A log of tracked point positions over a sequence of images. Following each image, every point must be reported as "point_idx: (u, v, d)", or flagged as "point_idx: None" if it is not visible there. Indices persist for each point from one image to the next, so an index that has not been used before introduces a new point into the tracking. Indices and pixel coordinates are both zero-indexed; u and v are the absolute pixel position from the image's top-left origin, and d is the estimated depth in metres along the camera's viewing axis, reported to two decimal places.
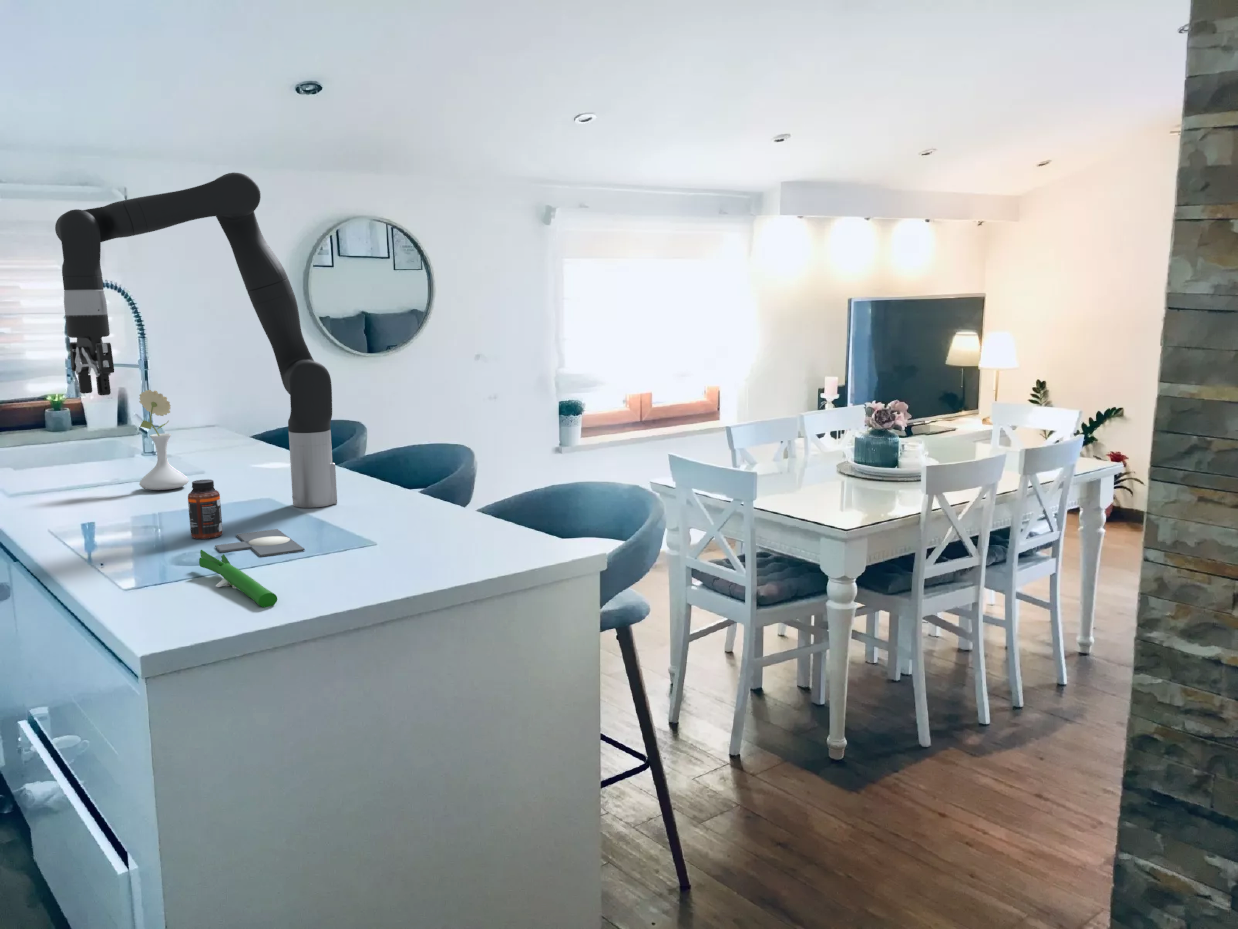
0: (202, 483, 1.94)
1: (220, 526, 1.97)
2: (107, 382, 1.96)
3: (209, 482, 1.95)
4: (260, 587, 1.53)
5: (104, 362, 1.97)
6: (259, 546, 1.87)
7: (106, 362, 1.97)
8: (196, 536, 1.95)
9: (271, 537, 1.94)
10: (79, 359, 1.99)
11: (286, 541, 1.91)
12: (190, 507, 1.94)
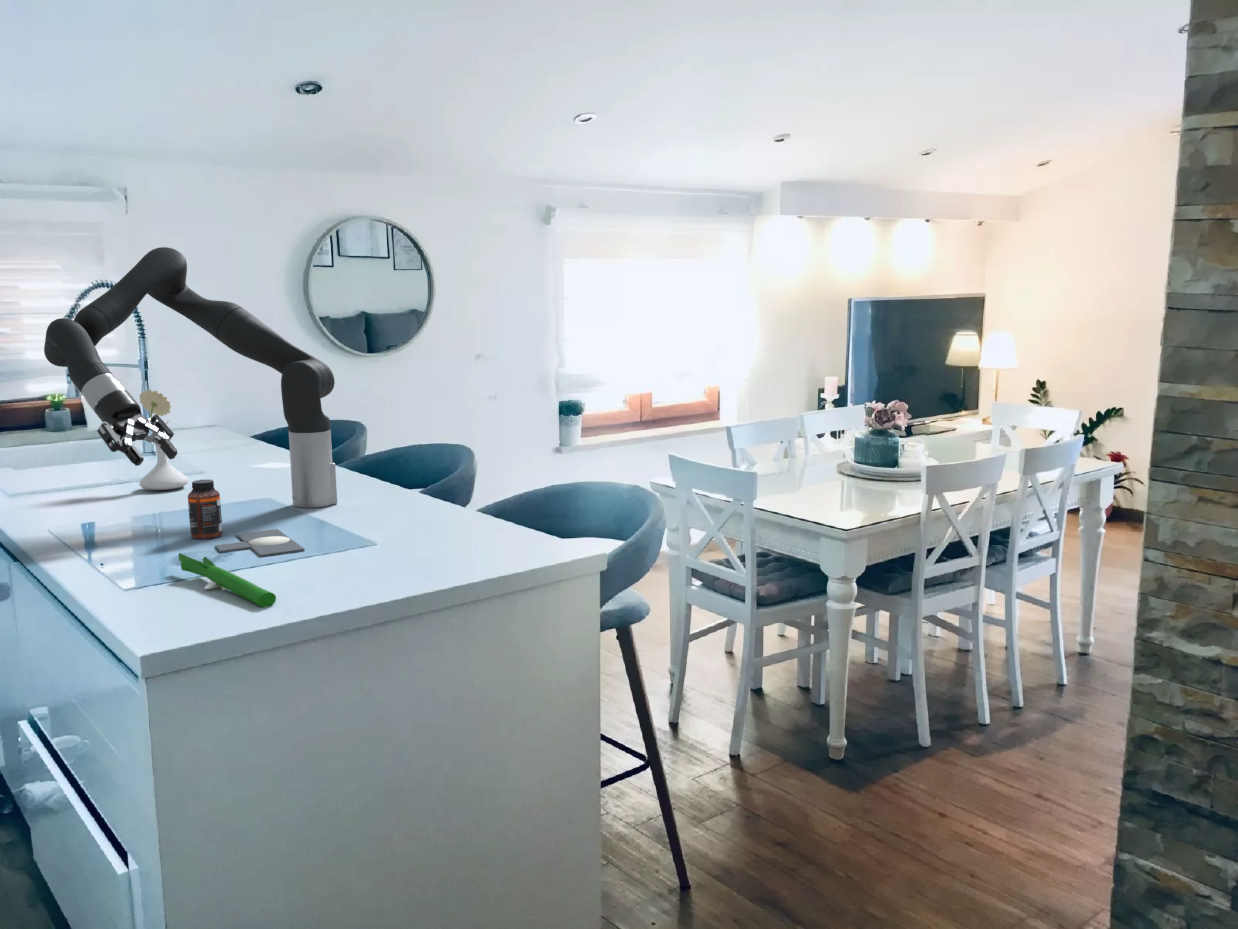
0: (202, 483, 1.94)
1: (220, 526, 1.97)
2: None
3: (209, 482, 1.95)
4: (257, 587, 1.53)
5: None
6: (259, 546, 1.87)
7: None
8: (196, 536, 1.95)
9: (271, 537, 1.94)
10: None
11: (286, 541, 1.91)
12: (190, 507, 1.94)
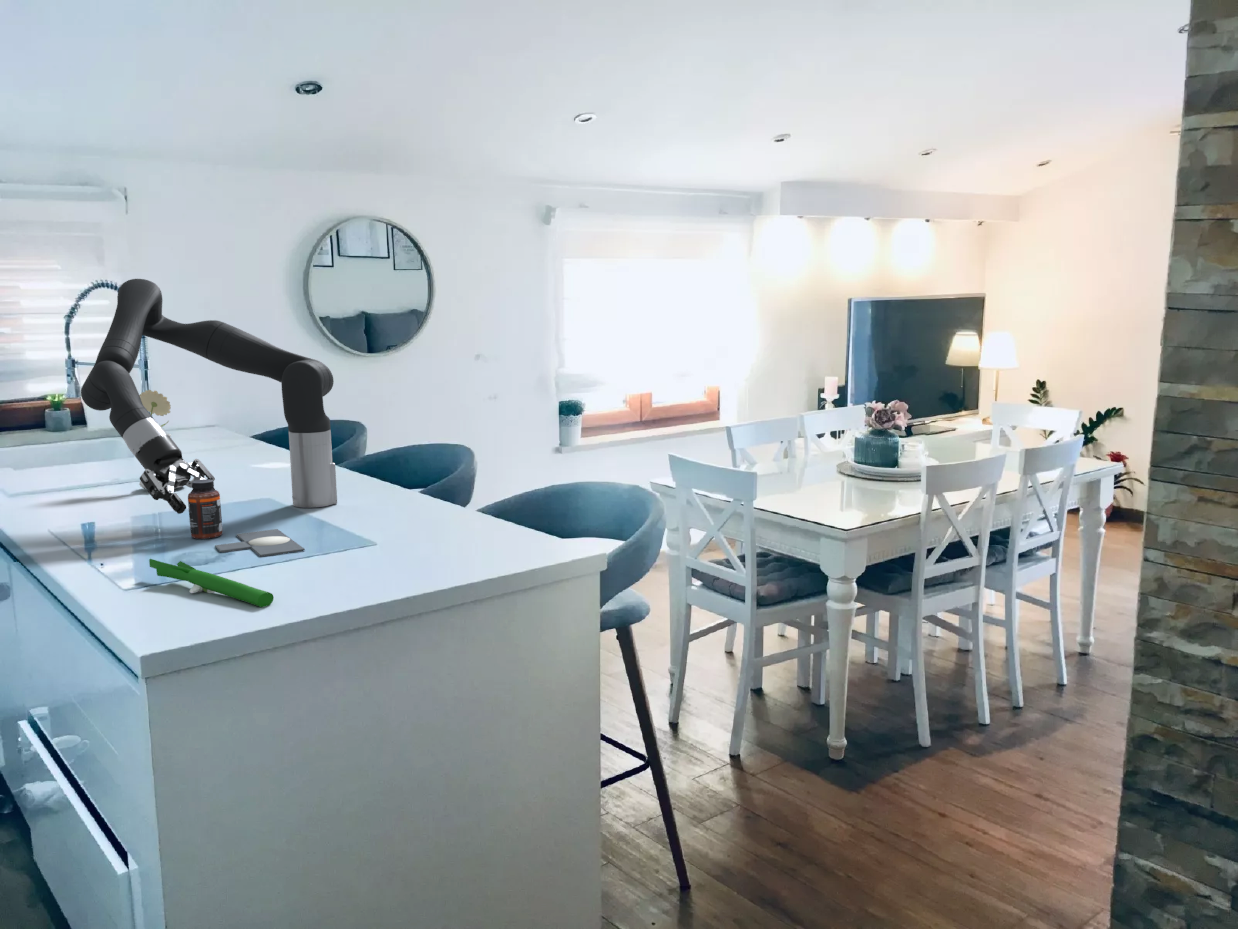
0: (202, 483, 1.94)
1: (220, 526, 1.97)
2: None
3: (209, 482, 1.95)
4: (252, 588, 1.53)
5: None
6: (259, 546, 1.87)
7: None
8: (196, 536, 1.95)
9: (271, 537, 1.94)
10: None
11: (286, 541, 1.91)
12: (190, 507, 1.94)
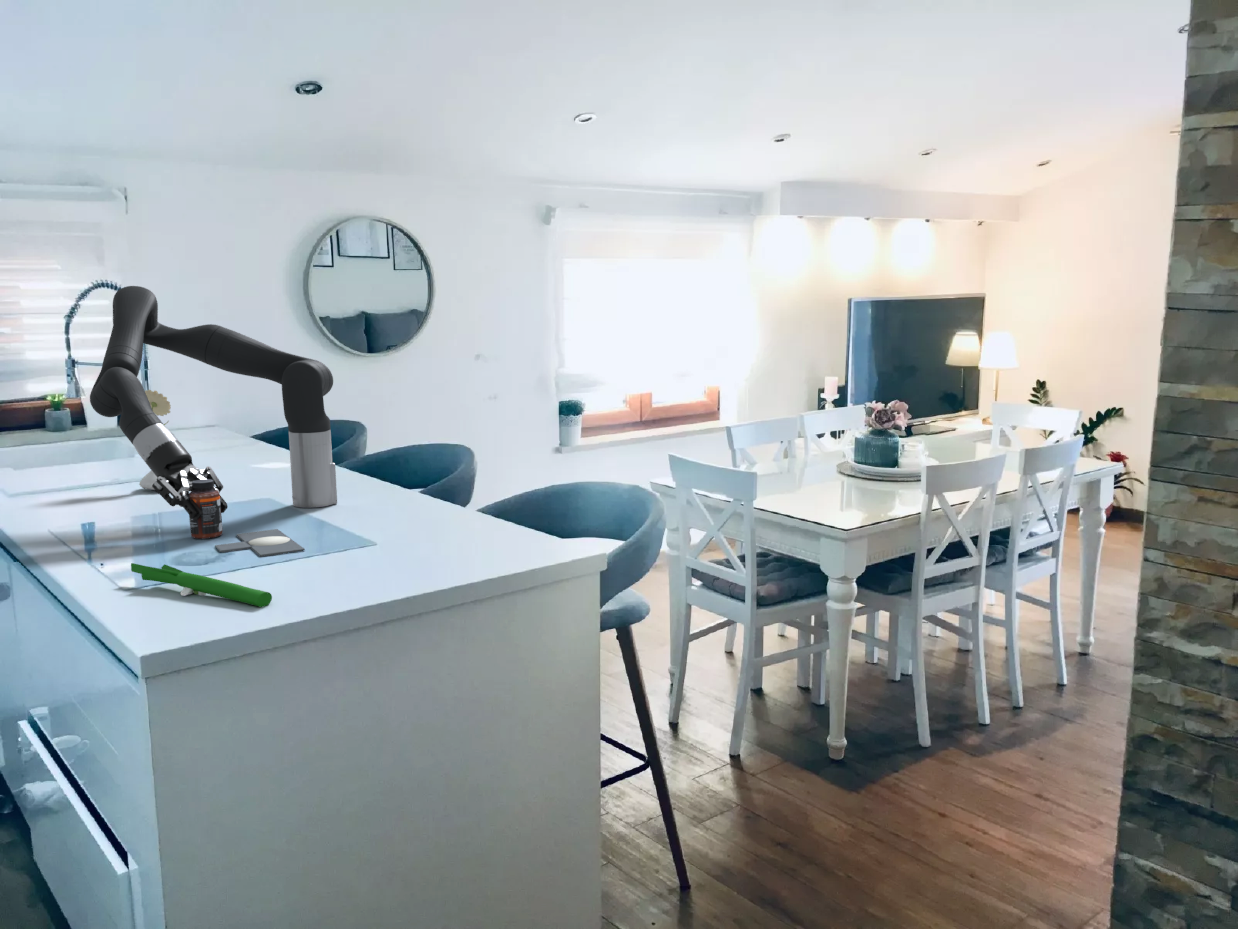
0: (202, 483, 1.94)
1: (220, 526, 1.97)
2: None
3: (209, 482, 1.95)
4: (249, 588, 1.53)
5: None
6: (259, 546, 1.87)
7: None
8: (196, 536, 1.95)
9: (271, 537, 1.94)
10: None
11: (286, 541, 1.91)
12: None
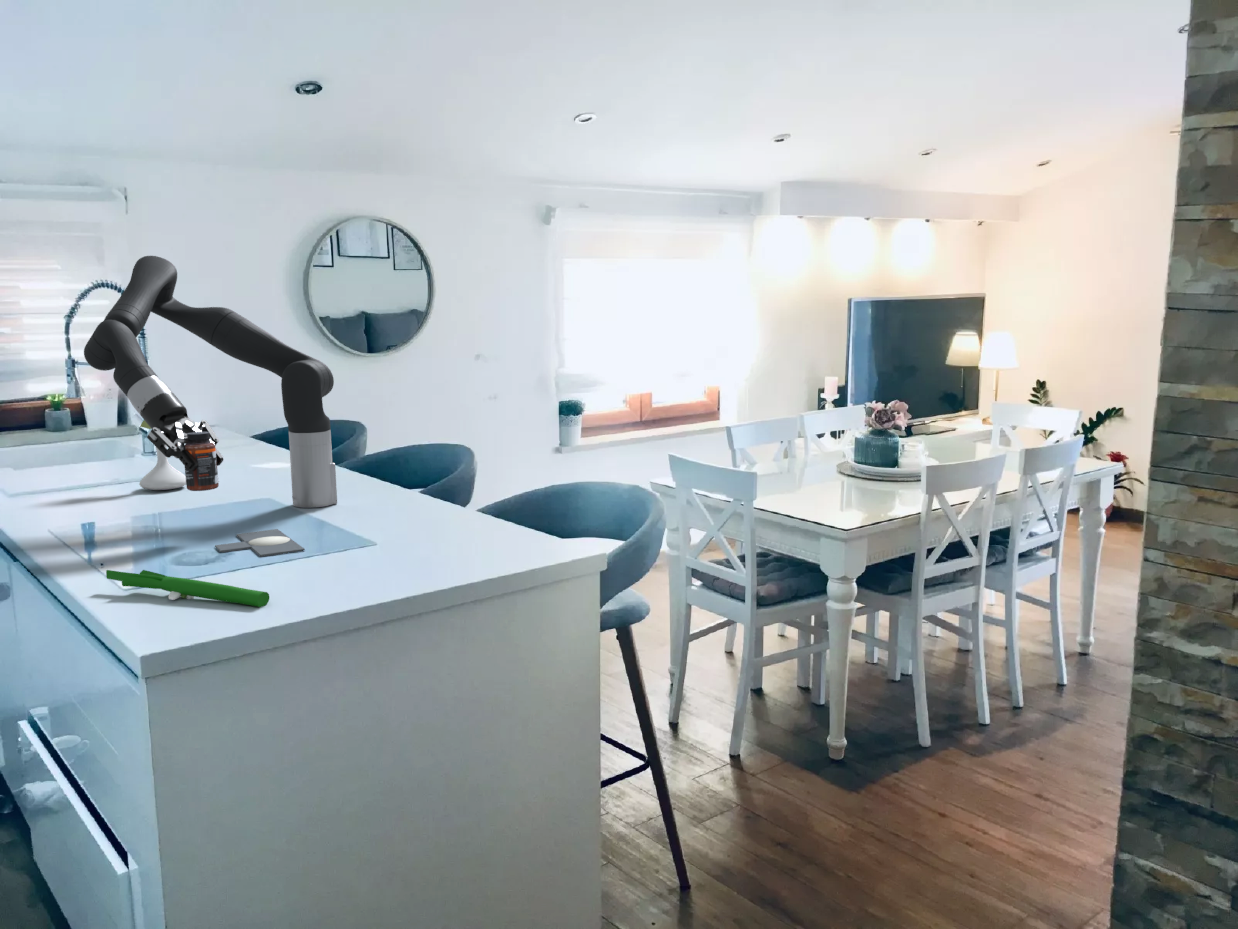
0: (197, 434, 1.92)
1: (216, 478, 1.95)
2: None
3: (204, 433, 1.93)
4: (246, 589, 1.52)
5: None
6: (259, 546, 1.87)
7: None
8: (192, 488, 1.93)
9: (271, 537, 1.94)
10: None
11: (286, 541, 1.91)
12: None
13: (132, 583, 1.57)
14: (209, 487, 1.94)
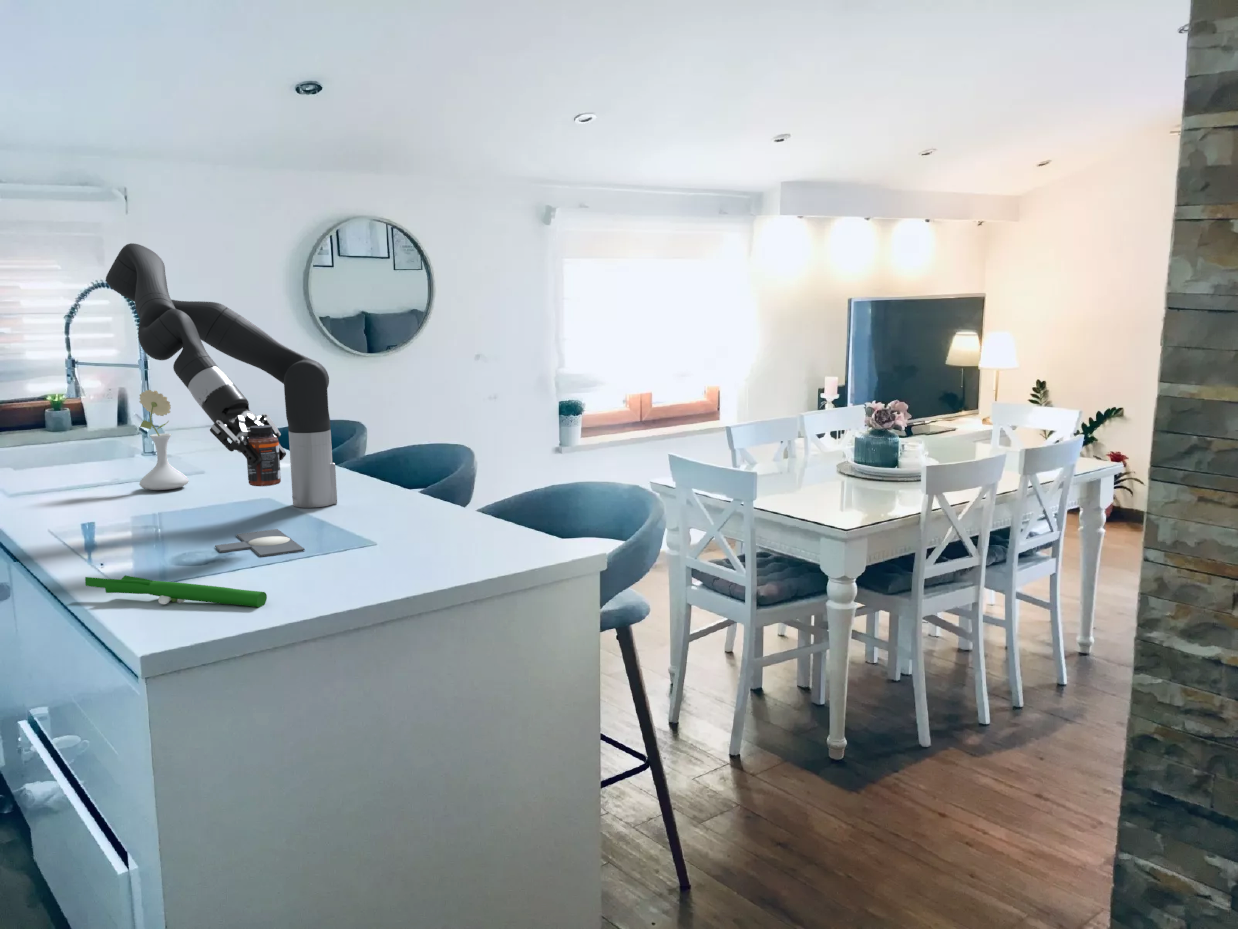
0: (261, 428, 1.86)
1: (279, 473, 1.89)
2: None
3: (268, 427, 1.87)
4: (242, 590, 1.52)
5: None
6: (259, 546, 1.87)
7: None
8: (254, 483, 1.87)
9: (271, 537, 1.94)
10: None
11: (286, 541, 1.91)
12: None
13: (117, 589, 1.54)
14: (272, 482, 1.88)
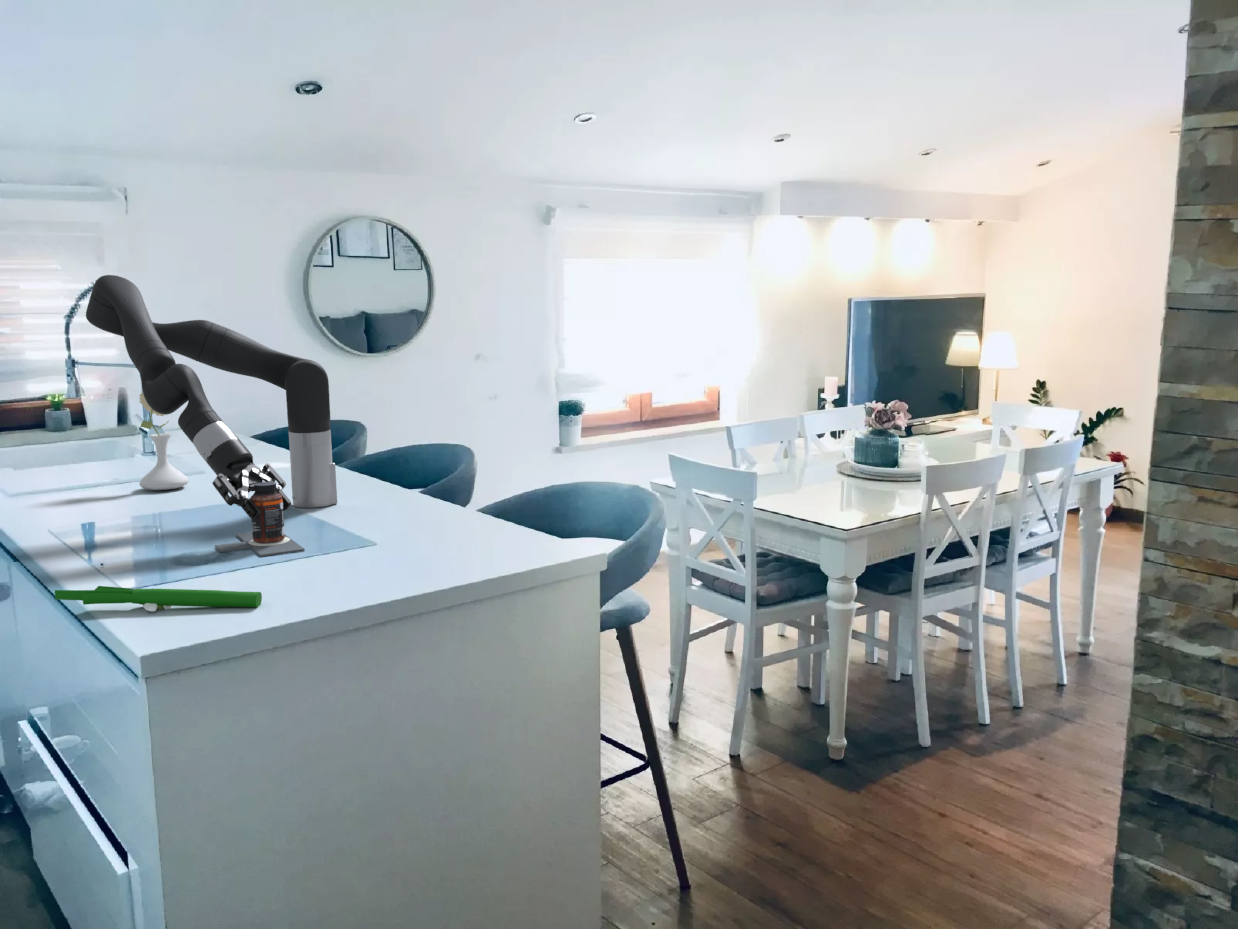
0: (265, 486, 1.88)
1: (283, 530, 1.91)
2: None
3: (272, 485, 1.89)
4: (237, 591, 1.51)
5: None
6: (259, 546, 1.87)
7: None
8: (259, 540, 1.89)
9: None
10: None
11: (286, 541, 1.91)
12: None
13: (95, 600, 1.48)
14: (276, 539, 1.90)
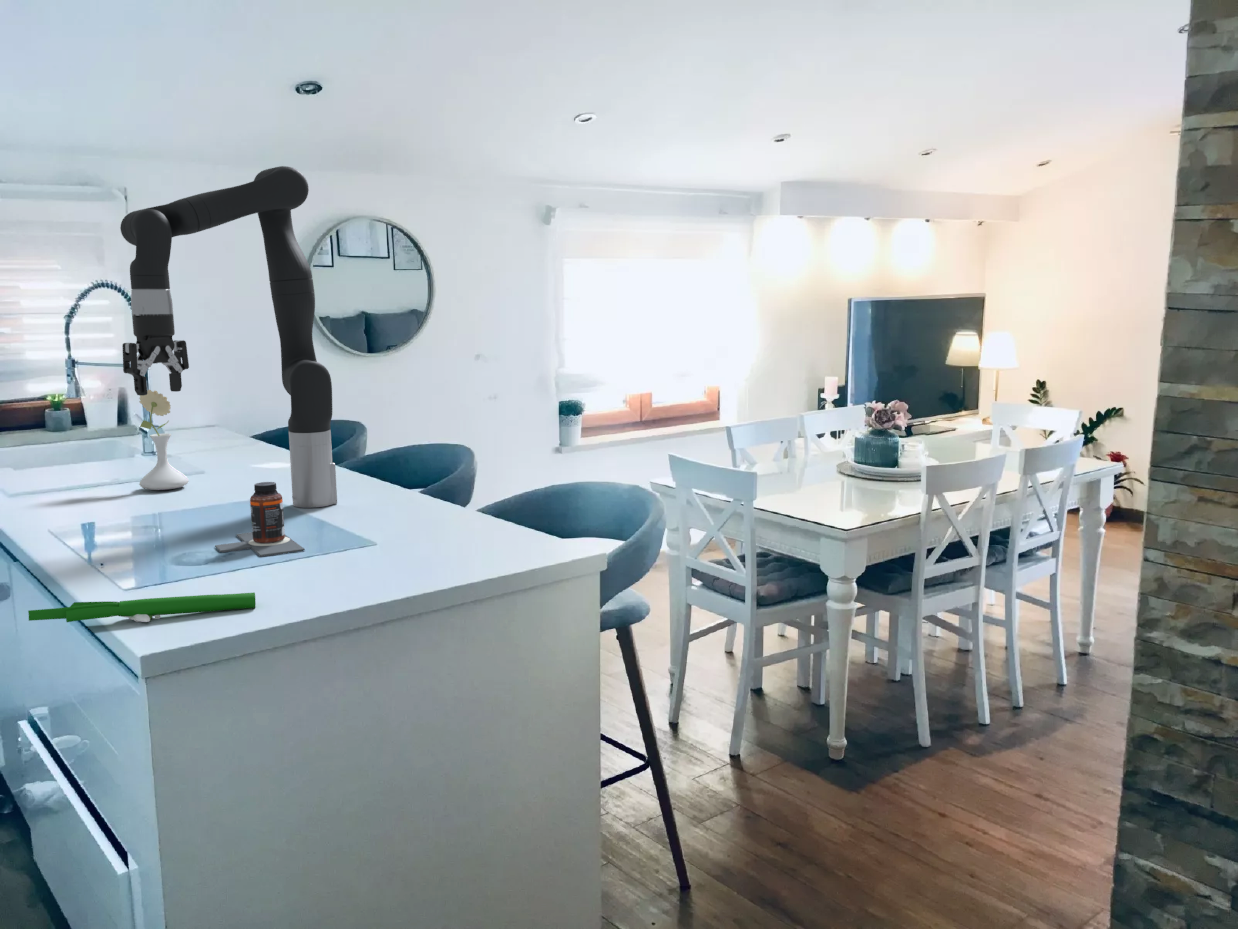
0: (265, 486, 1.88)
1: (283, 530, 1.91)
2: None
3: (272, 485, 1.89)
4: (232, 594, 1.50)
5: None
6: (259, 546, 1.87)
7: None
8: (259, 540, 1.89)
9: None
10: None
11: (286, 541, 1.91)
12: (253, 510, 1.88)
13: (79, 616, 1.40)
14: (276, 539, 1.90)
